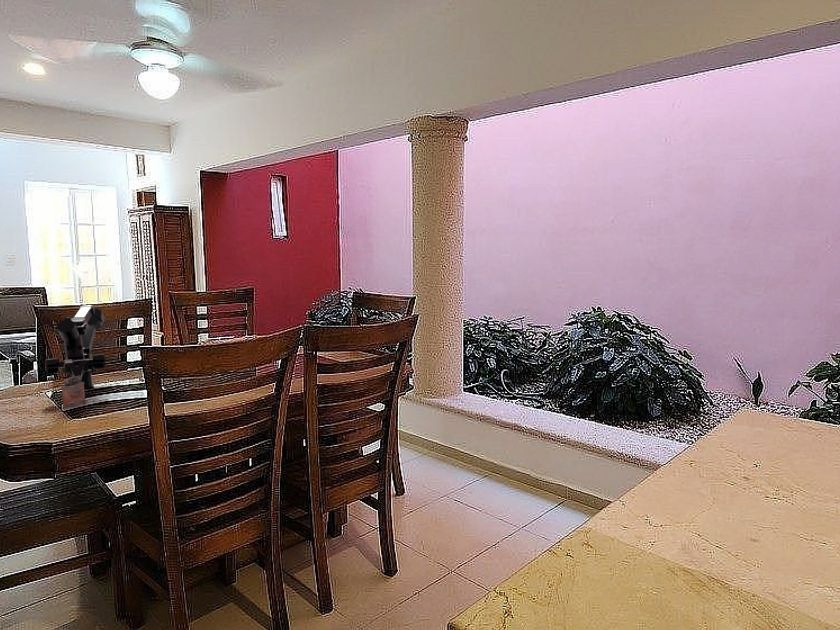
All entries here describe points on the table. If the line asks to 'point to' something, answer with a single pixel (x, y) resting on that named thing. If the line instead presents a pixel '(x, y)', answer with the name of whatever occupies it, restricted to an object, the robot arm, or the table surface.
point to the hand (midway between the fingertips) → (78, 382)
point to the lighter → (73, 392)
